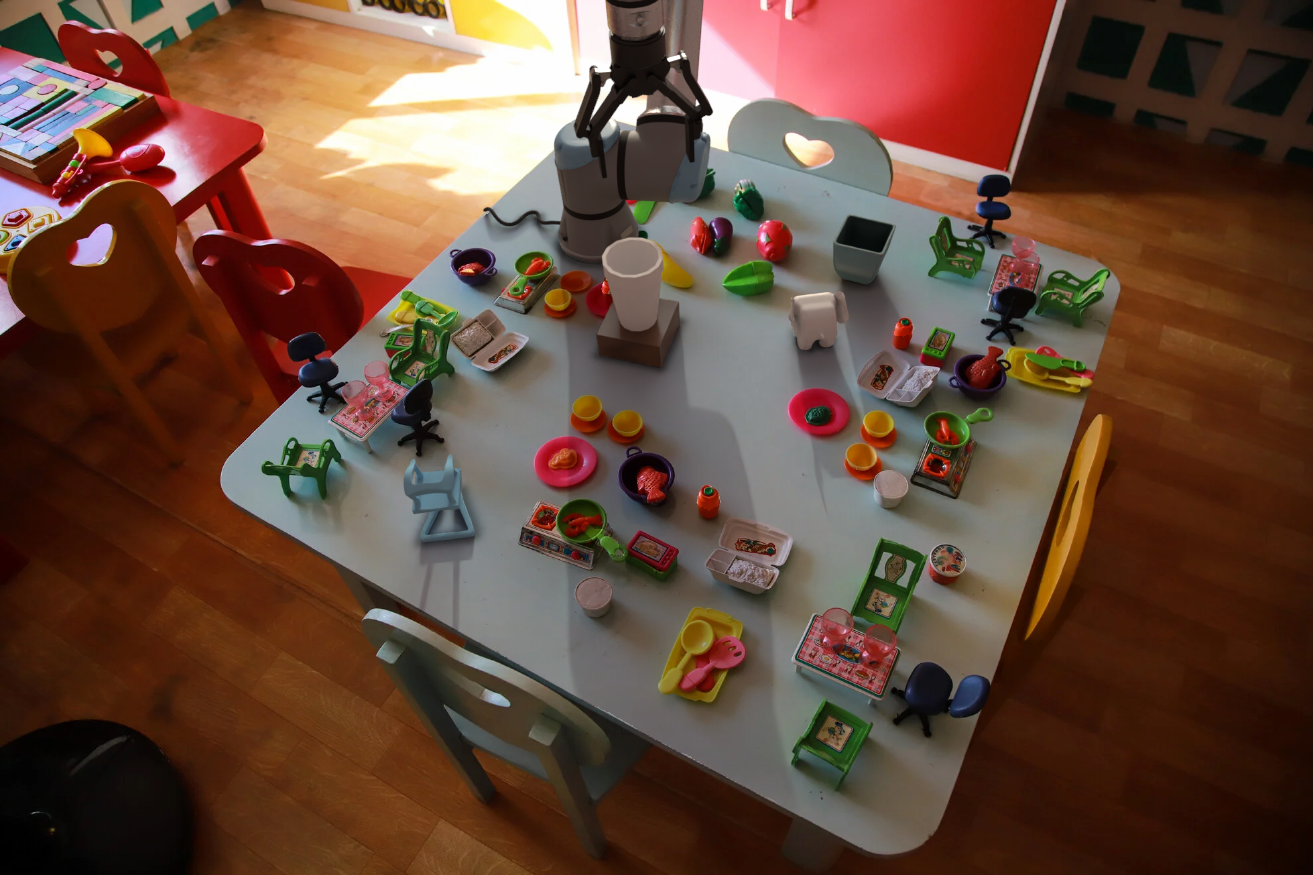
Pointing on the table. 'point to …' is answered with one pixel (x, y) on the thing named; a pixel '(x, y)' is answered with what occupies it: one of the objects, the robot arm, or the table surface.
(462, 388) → the table surface
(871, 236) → the flower pot
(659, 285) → the foam cup
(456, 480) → the chair
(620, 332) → the block
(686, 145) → the robot arm
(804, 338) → the elephant figurine
